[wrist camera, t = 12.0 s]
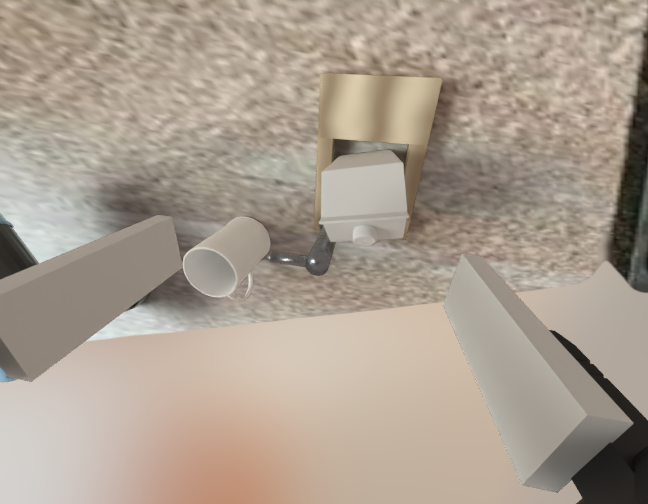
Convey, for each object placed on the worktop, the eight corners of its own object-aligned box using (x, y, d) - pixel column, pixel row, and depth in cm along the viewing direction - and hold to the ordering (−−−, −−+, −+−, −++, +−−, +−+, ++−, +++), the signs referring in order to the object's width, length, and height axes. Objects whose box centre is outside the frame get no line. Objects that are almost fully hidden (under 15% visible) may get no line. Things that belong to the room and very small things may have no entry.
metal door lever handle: (301, 225, 42) (266, 276, 27) (302, 200, 40) (264, 239, 25) (347, 231, 41) (336, 286, 26) (350, 205, 39) (339, 249, 25)
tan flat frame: (316, 223, 41) (313, 229, 39) (324, 77, 32) (320, 73, 30) (403, 233, 39) (405, 239, 37) (437, 81, 30) (442, 78, 28)
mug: (280, 273, 47) (254, 316, 36) (239, 276, 49) (203, 317, 38) (263, 213, 42) (227, 242, 31) (218, 219, 44) (170, 248, 33)
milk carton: (339, 155, 36) (312, 179, 19) (390, 148, 34) (409, 168, 18) (344, 203, 39) (324, 261, 22) (391, 199, 37) (408, 258, 21)
